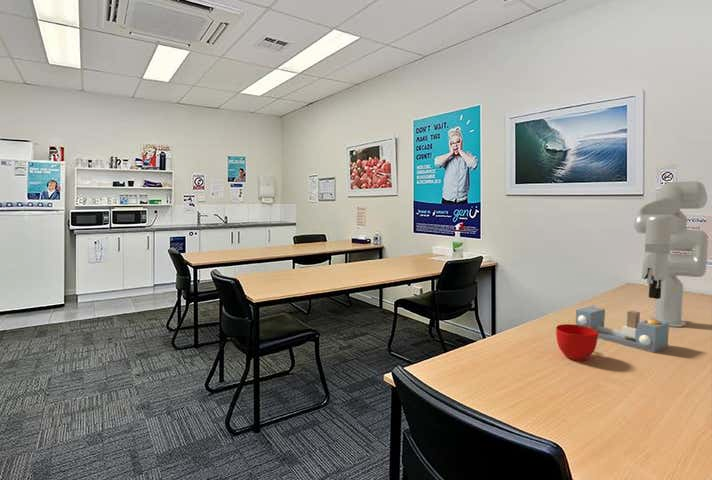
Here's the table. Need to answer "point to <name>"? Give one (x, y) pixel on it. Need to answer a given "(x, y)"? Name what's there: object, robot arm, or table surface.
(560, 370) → the table surface
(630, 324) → the carriage
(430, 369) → the table surface
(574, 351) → the ceramic cup
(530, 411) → the table surface
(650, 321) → the button
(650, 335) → the rail bed
